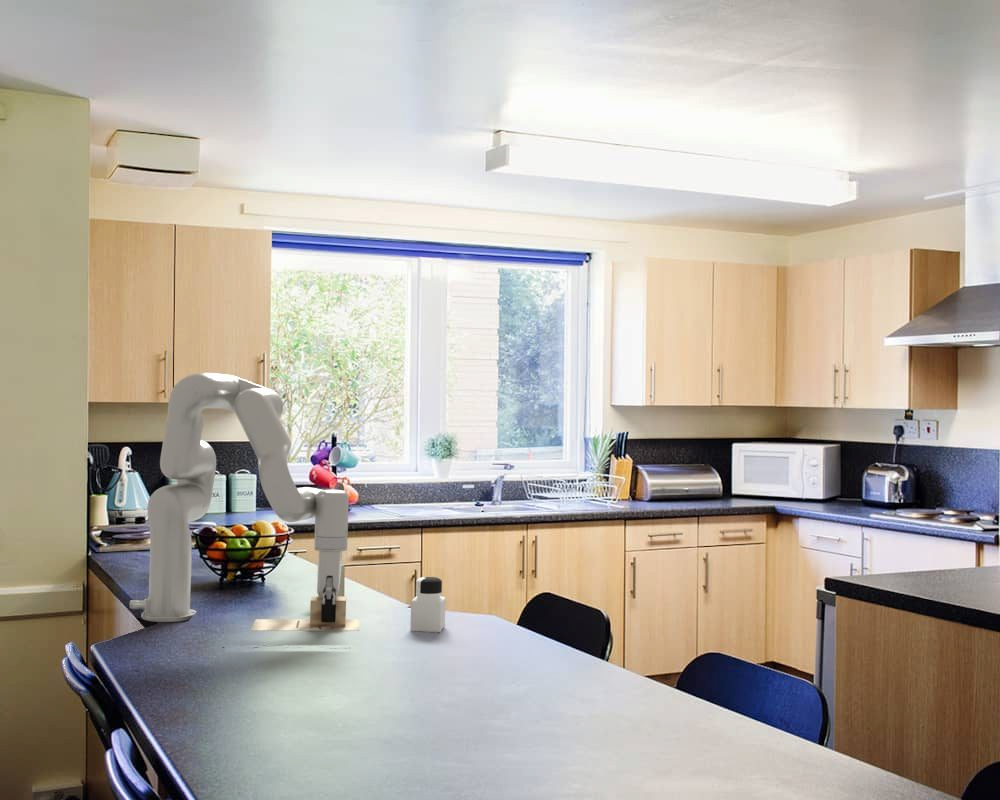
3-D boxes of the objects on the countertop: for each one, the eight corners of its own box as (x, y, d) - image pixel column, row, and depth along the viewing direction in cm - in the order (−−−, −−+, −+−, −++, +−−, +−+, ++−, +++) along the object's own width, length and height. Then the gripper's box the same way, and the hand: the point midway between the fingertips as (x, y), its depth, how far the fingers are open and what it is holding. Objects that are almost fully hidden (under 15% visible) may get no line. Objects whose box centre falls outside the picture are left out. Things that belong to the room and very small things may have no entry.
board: (250, 635, 234) (250, 630, 234) (255, 624, 246) (255, 619, 246) (359, 635, 238) (359, 630, 238) (358, 624, 250) (359, 619, 250)
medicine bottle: (445, 626, 250) (446, 576, 250) (440, 632, 243) (441, 580, 243) (415, 625, 251) (416, 574, 251) (410, 631, 244) (411, 579, 244)
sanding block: (309, 626, 240) (310, 600, 240) (310, 622, 245) (311, 596, 245) (345, 626, 241) (346, 600, 241) (345, 622, 246) (346, 596, 246)
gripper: (315, 538, 251) (313, 610, 251) (312, 548, 234) (310, 625, 234) (347, 538, 252) (345, 610, 252) (347, 548, 235) (344, 625, 235)
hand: (328, 617), depth 243 cm, fingers open, 9 cm apart
